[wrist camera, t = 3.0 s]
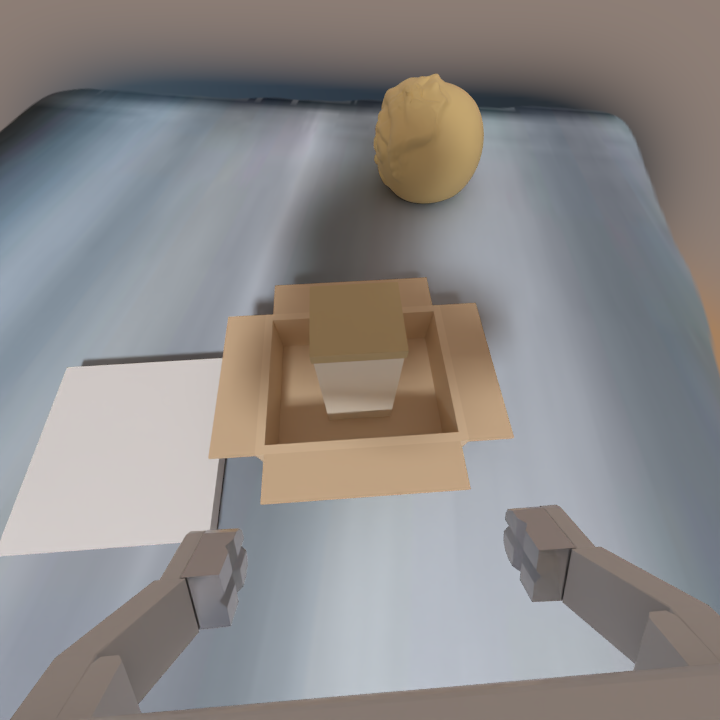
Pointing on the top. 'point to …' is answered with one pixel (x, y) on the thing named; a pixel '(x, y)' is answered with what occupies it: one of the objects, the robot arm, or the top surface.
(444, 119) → the sculpture
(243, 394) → the carton
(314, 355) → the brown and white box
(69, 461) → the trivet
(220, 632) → the top surface
